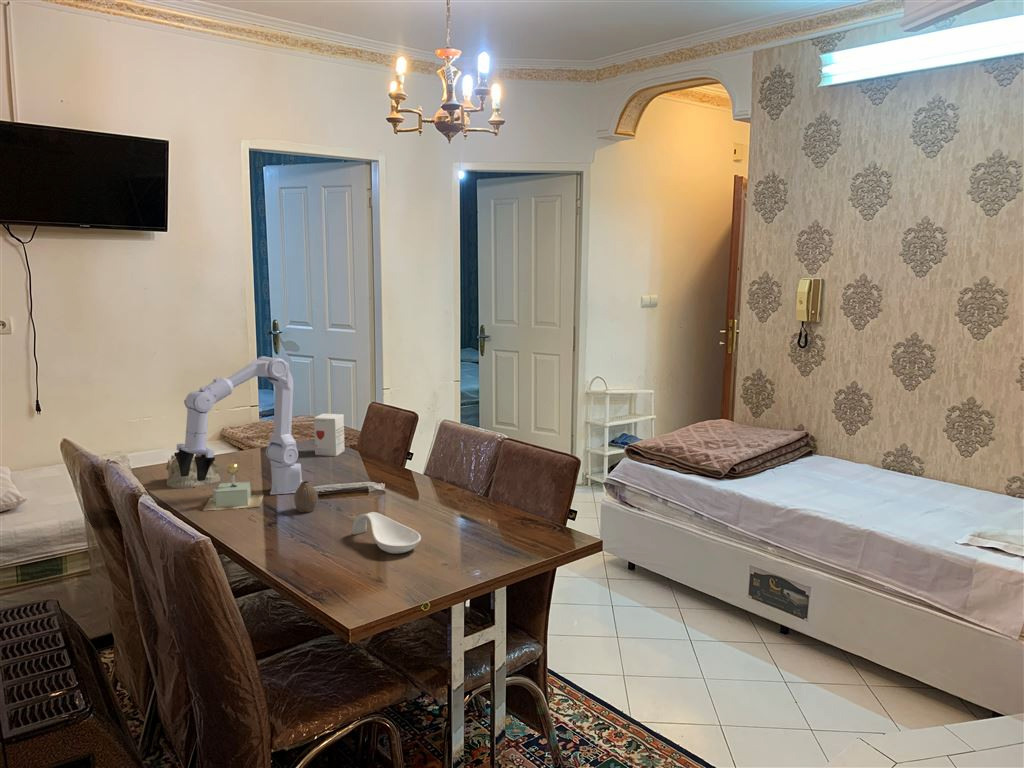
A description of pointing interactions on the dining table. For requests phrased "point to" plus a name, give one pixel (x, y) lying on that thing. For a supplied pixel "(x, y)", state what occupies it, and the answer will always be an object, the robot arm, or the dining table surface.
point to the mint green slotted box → (232, 494)
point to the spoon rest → (387, 533)
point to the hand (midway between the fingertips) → (192, 478)
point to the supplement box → (329, 434)
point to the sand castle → (189, 481)
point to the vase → (305, 497)
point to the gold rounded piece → (232, 471)
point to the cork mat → (254, 502)
